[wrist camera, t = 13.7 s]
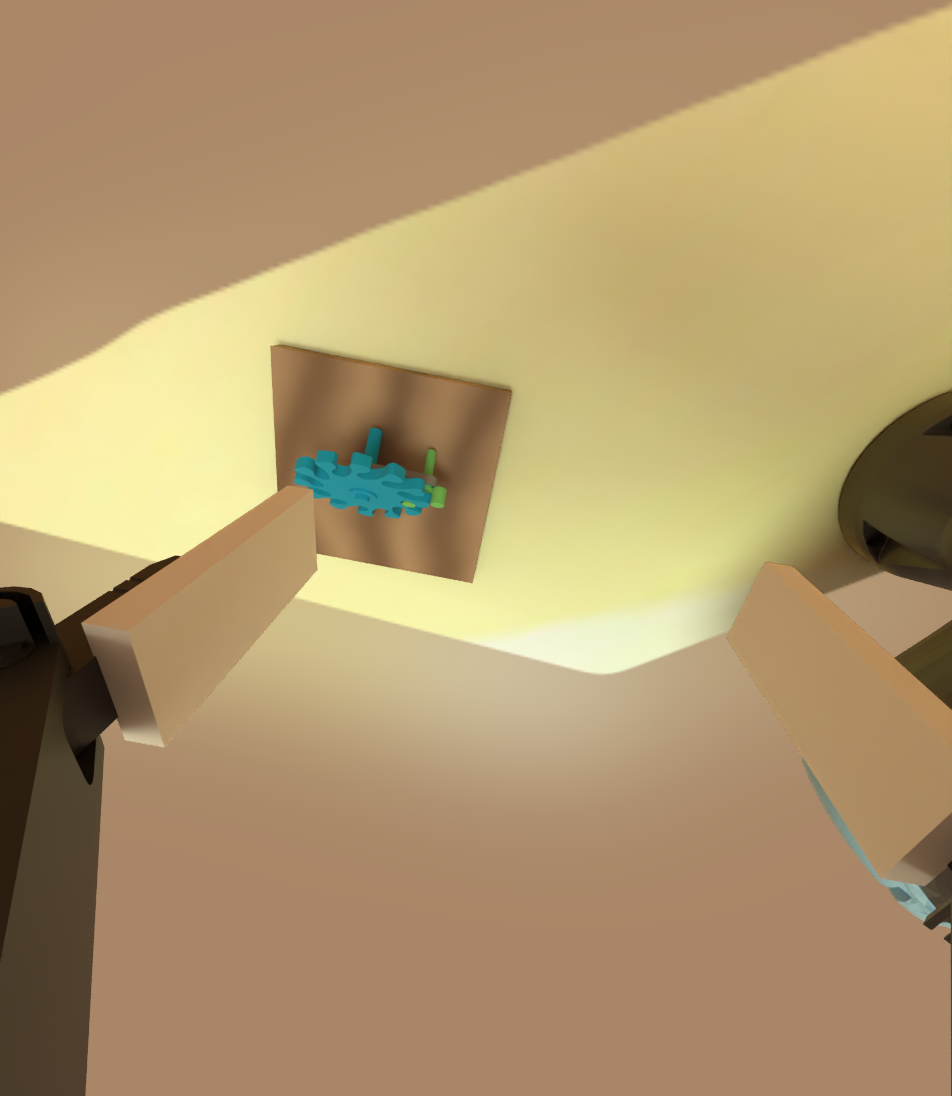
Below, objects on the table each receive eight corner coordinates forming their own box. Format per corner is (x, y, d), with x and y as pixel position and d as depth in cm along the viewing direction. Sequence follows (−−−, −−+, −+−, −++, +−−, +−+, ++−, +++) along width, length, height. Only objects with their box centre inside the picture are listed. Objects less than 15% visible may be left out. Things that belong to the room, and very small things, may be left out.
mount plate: (511, 390, 33) (511, 393, 32) (473, 574, 41) (472, 583, 40) (280, 344, 33) (270, 346, 32) (287, 539, 41) (280, 546, 40)
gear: (303, 511, 36) (274, 457, 26) (318, 448, 37) (297, 375, 28) (434, 534, 38) (452, 492, 28) (444, 473, 39) (463, 413, 30)
